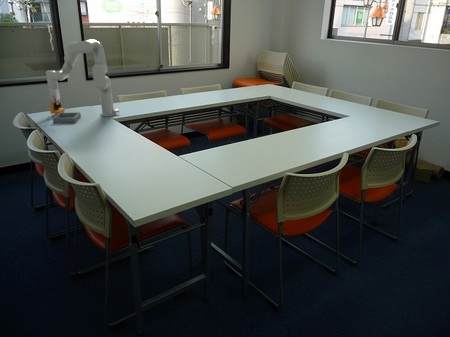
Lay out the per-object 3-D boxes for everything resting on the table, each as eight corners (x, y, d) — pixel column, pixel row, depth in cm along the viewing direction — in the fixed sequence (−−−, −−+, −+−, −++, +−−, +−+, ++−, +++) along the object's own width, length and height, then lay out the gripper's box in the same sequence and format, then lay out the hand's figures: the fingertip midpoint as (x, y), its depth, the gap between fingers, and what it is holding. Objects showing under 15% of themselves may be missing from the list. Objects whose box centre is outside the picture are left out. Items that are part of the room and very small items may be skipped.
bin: (81, 117, 295) (80, 112, 294) (75, 122, 280) (74, 117, 279) (60, 117, 294) (59, 112, 292) (53, 123, 279) (52, 118, 277)
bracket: (59, 114, 296) (56, 100, 291) (51, 114, 296) (48, 100, 291) (65, 111, 305) (63, 97, 300) (57, 111, 306) (54, 97, 301)
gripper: (52, 84, 299) (56, 106, 307) (45, 88, 284) (49, 111, 291) (61, 84, 300) (65, 105, 307) (54, 88, 284) (59, 111, 292)
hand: (57, 108), depth 299 cm, fingers closed on bracket, 5 cm apart
